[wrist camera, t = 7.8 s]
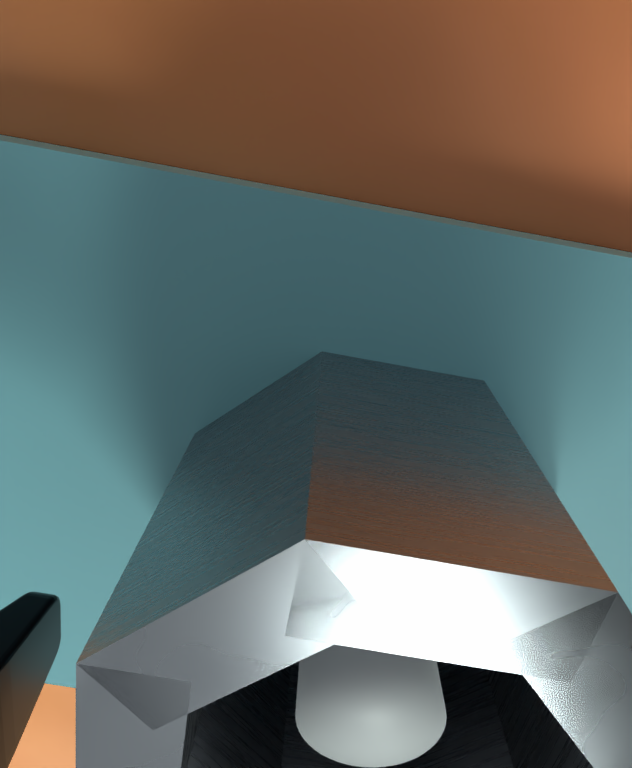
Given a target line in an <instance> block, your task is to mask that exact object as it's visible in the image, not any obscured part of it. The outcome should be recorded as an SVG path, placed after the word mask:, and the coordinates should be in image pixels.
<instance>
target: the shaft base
mask: <svg viewBox="0 0 632 768" xmlns="http://www.w3.org/2000/svg"><path fill="white" fill-rule="evenodd" d="M322 351H323V352H329V353H334V354H340V355H345V356H351V357H356V358H362V359H367V360H373V361H378V362H384V363H390V364H395V365H401V366H406V367H412V368H417V369H423V370H428V371H434V372H439V373H445V374H451V375H456V376H462V377H467V378H473V379H478V380H484V381H485V383H486V384H487V386H488V387H489V389H490V390H491V392H492V394H493V395H494V397H495V398H496V400H497V401H498V403H499V405H500V406H501V408H502V409H503V411H504V412H505V414H506V416H507V417H508V419H509V420H510V422H511V424H512V425H513V427H514V428H515V430H516V431H517V433H518V435H519V436H520V438H521V439H522V441H523V442H524V444H525V446H526V447H527V449H528V450H529V452H530V453H531V455H532V457H533V458H534V460H535V461H536V463H537V465H538V466H539V468H540V469H541V471H542V472H543V474H544V476H545V477H546V479H547V480H548V482H549V483H550V485H551V487H552V488H553V490H554V491H555V493H556V494H557V496H558V498H559V499H560V501H561V502H562V504H563V506H564V507H565V509H566V510H567V512H568V513H569V515H570V517H571V518H572V520H573V521H574V523H575V524H576V526H577V528H578V529H579V531H580V532H581V534H582V536H583V537H584V539H585V540H586V542H587V543H588V545H589V547H590V548H591V550H592V551H593V553H594V554H595V556H596V558H597V559H598V561H599V562H600V564H601V565H602V567H603V569H604V570H605V572H606V573H607V575H608V577H609V578H610V580H611V581H612V583H613V584H614V586H615V588H616V589H617V591H618V593H619V594H620V596H621V597H622V599H623V600H624V602H625V604H626V605H627V607H628V608H629V610H630V612H631V613H632V252H627V251H622V250H616V249H611V248H606V247H600V246H595V245H589V244H584V243H579V242H573V241H568V240H563V239H557V238H552V237H547V236H541V235H536V234H531V233H525V232H520V231H515V230H509V229H504V228H499V227H493V226H488V225H482V224H477V223H472V222H466V221H461V220H456V219H450V218H445V217H440V216H434V215H429V214H424V213H418V212H413V211H408V210H402V209H397V208H392V207H386V206H381V205H375V204H370V203H365V202H359V201H354V200H349V199H343V198H338V197H333V196H327V195H322V194H317V193H311V192H306V191H301V190H295V189H290V188H285V187H279V186H274V185H268V184H263V183H258V182H252V181H247V180H242V179H236V178H231V177H226V176H220V175H215V174H210V173H204V172H199V171H194V170H188V169H183V168H178V167H172V166H167V165H161V164H156V163H151V162H145V161H140V160H135V159H129V158H124V157H119V156H113V155H108V154H103V153H97V152H92V151H87V150H81V149H76V148H71V147H65V146H60V145H54V144H49V143H44V142H38V141H33V140H28V139H22V138H17V137H12V136H6V135H1V134H0V610H1V609H3V608H4V607H6V606H7V605H9V604H10V603H12V602H13V601H15V600H16V599H18V598H19V597H21V596H22V595H24V594H26V593H28V592H41V593H47V594H53V595H56V596H58V597H59V599H60V604H61V641H60V646H59V649H58V652H57V655H56V657H55V660H54V662H53V664H52V667H51V669H50V671H49V674H48V676H47V678H46V681H45V683H47V684H53V685H60V686H66V687H72V688H76V662H77V660H78V659H79V657H80V655H81V653H82V651H83V649H84V647H85V645H86V643H87V641H88V639H89V637H90V635H91V633H92V631H93V630H94V628H95V626H96V624H97V622H98V620H99V618H100V616H101V614H102V612H103V610H104V608H105V606H106V604H107V602H108V600H109V599H110V597H111V595H112V593H113V591H114V589H115V587H116V585H117V583H118V581H119V579H120V577H121V575H122V573H123V571H124V570H125V568H126V566H127V564H128V562H129V560H130V558H131V556H132V554H133V552H134V550H135V548H136V546H137V544H138V542H139V540H140V539H141V537H142V535H143V533H144V531H145V529H146V527H147V525H148V523H149V521H150V519H151V517H152V515H153V513H154V511H155V510H156V508H157V506H158V504H159V502H160V500H161V498H162V496H163V494H164V492H165V490H166V488H167V486H168V484H169V482H170V481H171V479H172V477H173V475H174V473H175V471H176V469H177V467H178V465H179V463H180V461H181V459H182V457H183V455H184V453H185V451H186V450H187V448H188V446H189V444H190V442H191V440H192V438H193V436H194V434H195V433H196V432H198V431H199V430H201V429H202V428H204V427H205V426H207V425H209V424H210V423H212V422H213V421H215V420H216V419H218V418H219V417H221V416H222V415H224V414H226V413H227V412H229V411H230V410H232V409H233V408H235V407H236V406H238V405H240V404H241V403H243V402H244V401H246V400H247V399H249V398H250V397H252V396H253V395H255V394H257V393H258V392H260V391H261V390H263V389H264V388H266V387H267V386H269V385H271V384H272V383H274V382H275V381H277V380H278V379H280V378H281V377H283V376H284V375H286V374H288V373H289V372H291V371H292V370H294V369H295V368H297V367H298V366H300V365H302V364H303V363H305V362H306V361H308V360H309V359H311V358H312V357H314V356H315V355H317V354H319V353H320V352H322ZM446 719H447V715H446V708H445V702H444V697H443V692H442V687H441V681H440V676H439V671H438V666H437V661H434V660H428V659H422V658H416V657H410V656H403V655H397V654H391V653H385V652H379V651H373V650H367V649H361V648H354V647H348V646H342V645H336V644H334V645H332V646H330V647H328V648H326V649H324V650H321V651H319V652H317V653H315V654H313V655H311V656H309V657H307V658H305V659H302V660H300V661H299V672H298V684H297V697H296V709H295V720H296V724H297V728H298V730H299V732H300V734H301V736H302V737H303V739H304V740H305V741H306V742H307V743H308V745H309V746H311V747H312V748H313V749H314V750H315V751H317V752H318V753H320V754H321V755H323V756H325V757H327V758H329V759H331V760H334V761H337V762H340V763H343V764H346V765H351V766H357V767H372V768H375V767H387V766H393V765H397V764H402V763H405V762H407V761H410V760H412V759H415V758H417V757H419V756H420V755H422V754H424V753H425V752H427V751H428V750H429V749H431V748H432V747H433V746H434V745H435V744H436V743H437V741H438V740H439V739H440V737H441V735H442V733H443V732H444V729H445V726H446Z"/></svg>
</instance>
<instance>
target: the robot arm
mask: <svg viewBox="0 0 632 768" xmlns="http://www.w3.org/2000/svg"><path fill="white" fill-rule="evenodd" d="M60 641H61V604H60V599H59V597H58V596H56V595H53V594H47V593H41V592H28V593H26V594H24V595H22V596H21V597H19V598H18V599H16V600H15V601H13V602H12V603H10V604H9V605H7V606H6V607H4V608H3V609H1V610H0V768H8V766H9V764H10V762H11V759H12V757H13V755H14V753H15V751H16V748H17V746H18V744H19V741H20V739H21V737H22V734H23V732H24V730H25V727H26V725H27V723H28V720H29V718H30V716H31V713H32V711H33V709H34V706H35V704H36V702H37V699H38V697H39V695H40V692H41V690H42V688H43V685H44V683H45V681H46V678H47V676H48V674H49V671H50V669H51V667H52V664H53V662H54V660H55V657H56V655H57V652H58V649H59V646H60Z"/></svg>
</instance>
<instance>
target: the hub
mask: <svg viewBox="0 0 632 768" xmlns="http://www.w3.org/2000/svg"><path fill="white" fill-rule="evenodd" d="M334 644H336V645H342V646H348V647H354V648H361V649H367V650H373V651H379V652H385V653H391V654H397V655H403V656H410V657H416V658H422V659H428V660H434V661H437V666H438V671H439V676H440V681H441V687H442V692H443V697H444V702H445V708H446V715H447V719H446V726H445V729H444V732H443V733H442V735H441V737H440V739H439V740H438V741H437V743H436V744H435V745H434V746H433V747H432V748H431V749H429V750H428V751H427V752H425V753H424V754H422V755H420V756H419V757H417V758H415V759H412V760H410V761H407V762H405V763H402V764H397V765H393V766H387V767H375V768H632V613H631V612H630V610H629V608H628V607H627V605H626V604H625V602H624V600H623V599H622V597H621V596H620V594H619V593H618V591H617V589H616V588H615V586H614V584H613V583H612V581H611V580H610V578H609V577H608V575H607V573H606V572H605V570H604V569H603V567H602V565H601V564H600V562H599V561H598V559H597V558H596V556H595V554H594V553H593V551H592V550H591V548H590V547H589V545H588V543H587V542H586V540H585V539H584V537H583V536H582V534H581V532H580V531H579V529H578V528H577V526H576V524H575V523H574V521H573V520H572V518H571V517H570V515H569V513H568V512H567V510H566V509H565V507H564V506H563V504H562V502H561V501H560V499H559V498H558V496H557V494H556V493H555V491H554V490H553V488H552V487H551V485H550V483H549V482H548V480H547V479H546V477H545V476H544V474H543V472H542V471H541V469H540V468H539V466H538V465H537V463H536V461H535V460H534V458H533V457H532V455H531V453H530V452H529V450H528V449H527V447H526V446H525V444H524V442H523V441H522V439H521V438H520V436H519V435H518V433H517V431H516V430H515V428H514V427H513V425H512V424H511V422H510V420H509V419H508V417H507V416H506V414H505V412H504V411H503V409H502V408H501V406H500V405H499V403H498V401H497V400H496V398H495V397H494V395H493V394H492V392H491V390H490V389H489V387H488V386H487V384H486V383H485V381H484V380H478V379H473V378H467V377H462V376H456V375H451V374H445V373H439V372H434V371H428V370H423V369H417V368H412V367H406V366H401V365H395V364H390V363H384V362H378V361H373V360H367V359H362V358H356V357H351V356H345V355H340V354H334V353H329V352H323V351H322V352H320V353H319V354H317V355H315V356H314V357H312V358H311V359H309V360H308V361H306V362H305V363H303V364H302V365H300V366H298V367H297V368H295V369H294V370H292V371H291V372H289V373H288V374H286V375H284V376H283V377H281V378H280V379H278V380H277V381H275V382H274V383H272V384H271V385H269V386H267V387H266V388H264V389H263V390H261V391H260V392H258V393H257V394H255V395H253V396H252V397H250V398H249V399H247V400H246V401H244V402H243V403H241V404H240V405H238V406H236V407H235V408H233V409H232V410H230V411H229V412H227V413H226V414H224V415H222V416H221V417H219V418H218V419H216V420H215V421H213V422H212V423H210V424H209V425H207V426H205V427H204V428H202V429H201V430H199V431H198V432H196V433H195V434H194V436H193V438H192V440H191V442H190V444H189V446H188V448H187V450H186V451H185V453H184V455H183V457H182V459H181V461H180V463H179V465H178V467H177V469H176V471H175V473H174V475H173V477H172V479H171V481H170V482H169V484H168V486H167V488H166V490H165V492H164V494H163V496H162V498H161V500H160V502H159V504H158V506H157V508H156V510H155V511H154V513H153V515H152V517H151V519H150V521H149V523H148V525H147V527H146V529H145V531H144V533H143V535H142V537H141V539H140V540H139V542H138V544H137V546H136V548H135V550H134V552H133V554H132V556H131V558H130V560H129V562H128V564H127V566H126V568H125V570H124V571H123V573H122V575H121V577H120V579H119V581H118V583H117V585H116V587H115V589H114V591H113V593H112V595H111V597H110V599H109V600H108V602H107V604H106V606H105V608H104V610H103V612H102V614H101V616H100V618H99V620H98V622H97V624H96V626H95V628H94V630H93V631H92V633H91V635H90V637H89V639H88V641H87V643H86V645H85V647H84V649H83V651H82V653H81V655H80V657H79V659H78V660H77V662H76V768H372V767H357V766H351V765H346V764H343V763H340V762H337V761H334V760H331V759H329V758H327V757H325V756H323V755H321V754H320V753H318V752H317V751H315V750H314V749H313V748H312V747H311V746H309V745H308V743H307V742H306V741H305V740H304V739H303V737H302V736H301V734H300V732H299V730H298V728H297V724H296V720H295V709H296V697H297V684H298V672H299V661H300V660H302V659H305V658H307V657H309V656H311V655H313V654H315V653H317V652H319V651H321V650H324V649H326V648H328V647H330V646H332V645H334Z"/></svg>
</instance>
